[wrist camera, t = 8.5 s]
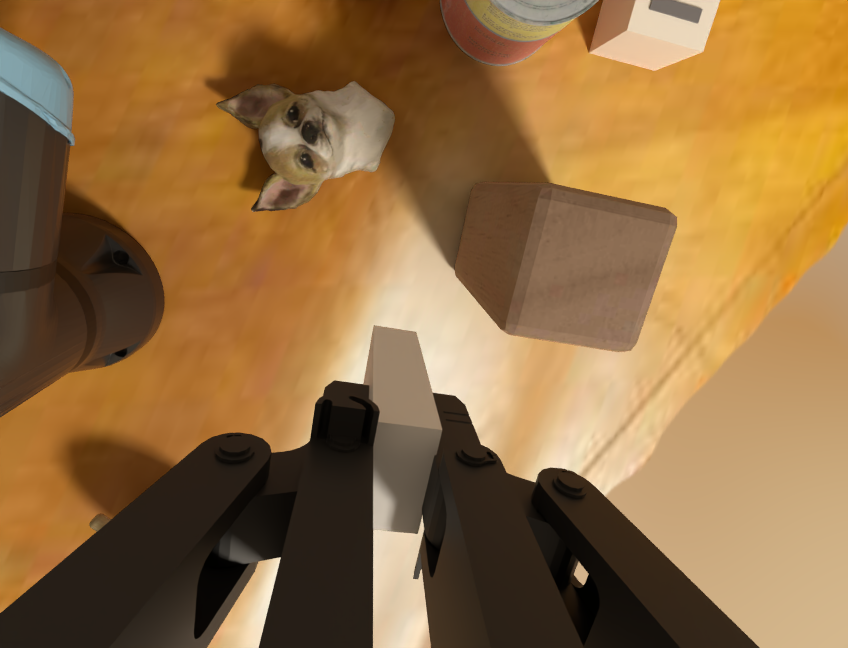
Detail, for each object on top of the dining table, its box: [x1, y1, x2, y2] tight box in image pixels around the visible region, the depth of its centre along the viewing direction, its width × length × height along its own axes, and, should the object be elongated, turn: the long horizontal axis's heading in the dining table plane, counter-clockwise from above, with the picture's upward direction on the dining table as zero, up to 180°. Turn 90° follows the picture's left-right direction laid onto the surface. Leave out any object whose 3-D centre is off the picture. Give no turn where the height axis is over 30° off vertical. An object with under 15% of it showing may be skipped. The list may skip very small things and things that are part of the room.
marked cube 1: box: [589, 0, 720, 71], centre depth 40 cm, size 7×7×7 cm
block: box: [454, 182, 677, 352], centre depth 38 cm, size 10×10×20 cm
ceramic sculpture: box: [216, 81, 395, 212], centre depth 40 cm, size 11×9×15 cm
